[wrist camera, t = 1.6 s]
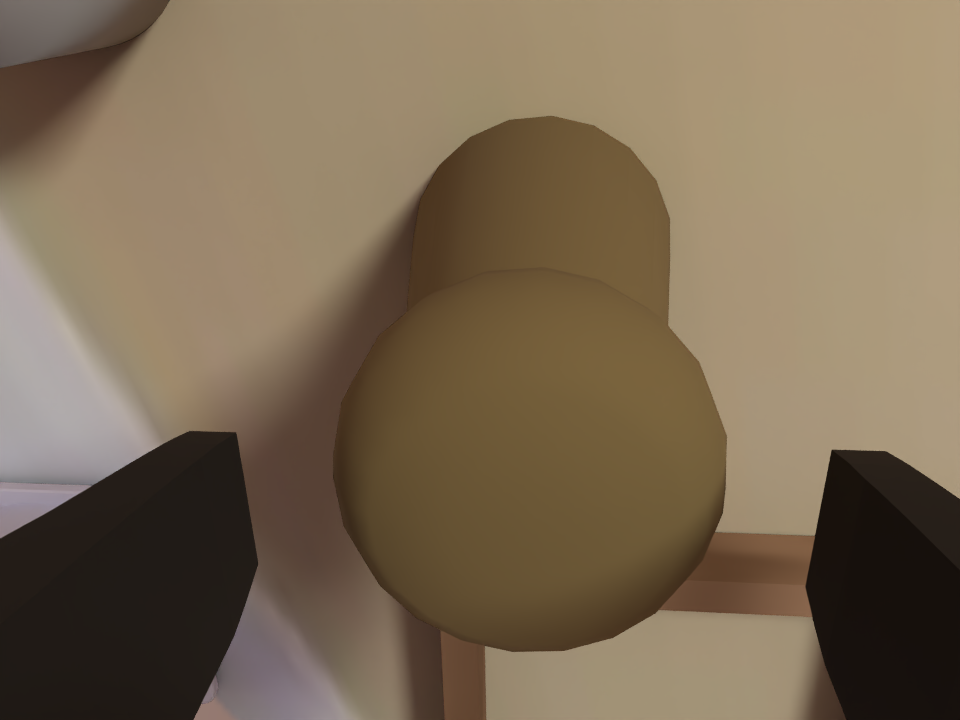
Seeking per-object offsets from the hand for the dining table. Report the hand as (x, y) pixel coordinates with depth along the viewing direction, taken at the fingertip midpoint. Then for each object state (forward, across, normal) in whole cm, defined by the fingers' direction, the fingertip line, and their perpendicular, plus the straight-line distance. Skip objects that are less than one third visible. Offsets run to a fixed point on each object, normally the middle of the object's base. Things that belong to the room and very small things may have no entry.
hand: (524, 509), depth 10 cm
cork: (+11, 0, 0) cm, 11 cm away
